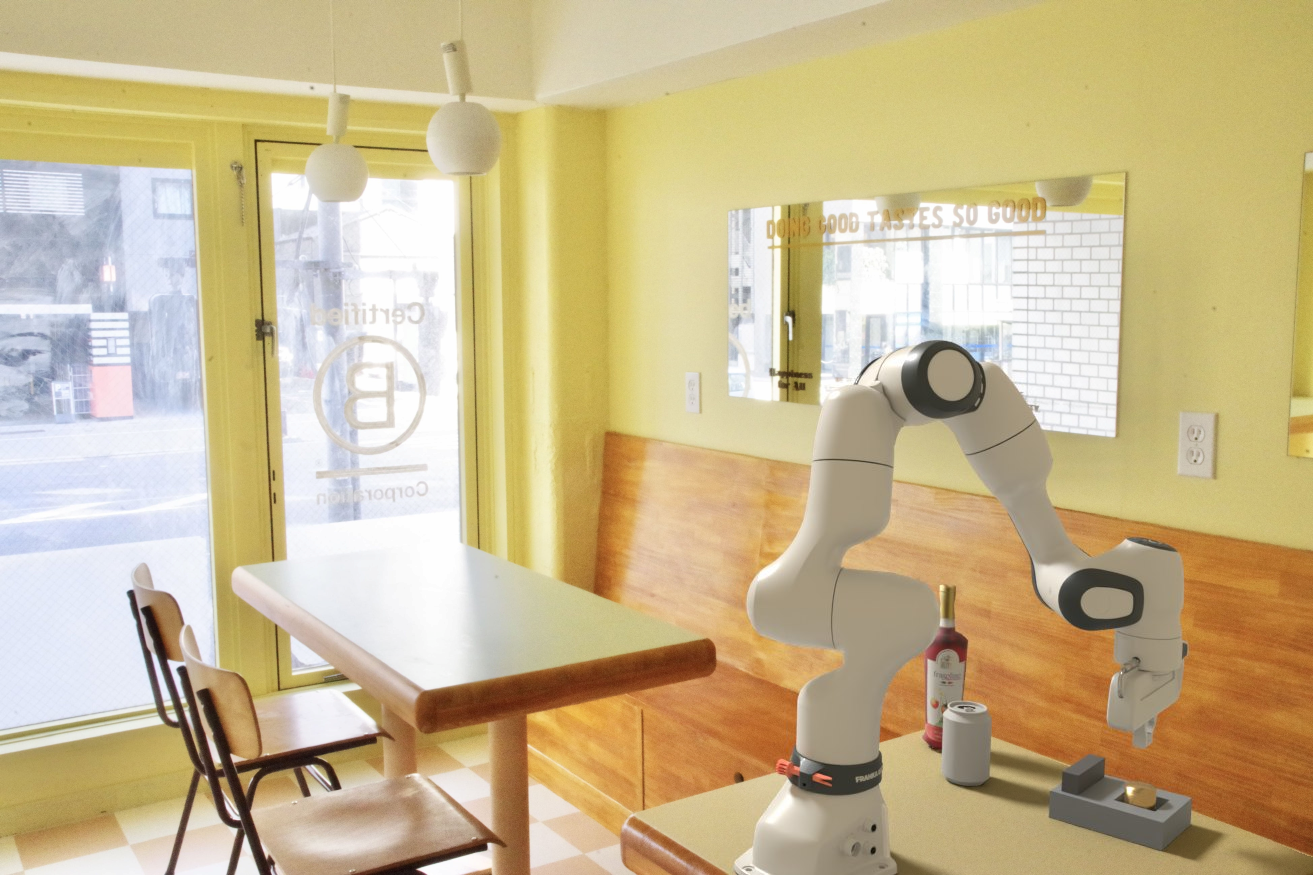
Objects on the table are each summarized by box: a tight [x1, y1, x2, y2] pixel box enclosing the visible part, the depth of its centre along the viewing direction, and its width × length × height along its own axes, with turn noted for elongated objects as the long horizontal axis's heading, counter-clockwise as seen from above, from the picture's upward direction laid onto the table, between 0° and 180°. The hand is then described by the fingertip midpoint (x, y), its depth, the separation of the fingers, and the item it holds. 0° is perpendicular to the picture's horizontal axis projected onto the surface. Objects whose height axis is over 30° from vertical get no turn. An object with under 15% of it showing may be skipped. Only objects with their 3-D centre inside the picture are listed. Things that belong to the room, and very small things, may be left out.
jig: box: [1048, 753, 1193, 851], centre depth 165 cm, size 12×16×7 cm
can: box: [940, 700, 993, 787], centre depth 181 cm, size 8×8×12 cm
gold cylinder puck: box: [1124, 780, 1158, 811], centre depth 163 cm, size 4×4×6 cm
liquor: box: [921, 584, 969, 751], centre depth 195 cm, size 7×7×28 cm
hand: (1142, 745), depth 163 cm, fingers closed
